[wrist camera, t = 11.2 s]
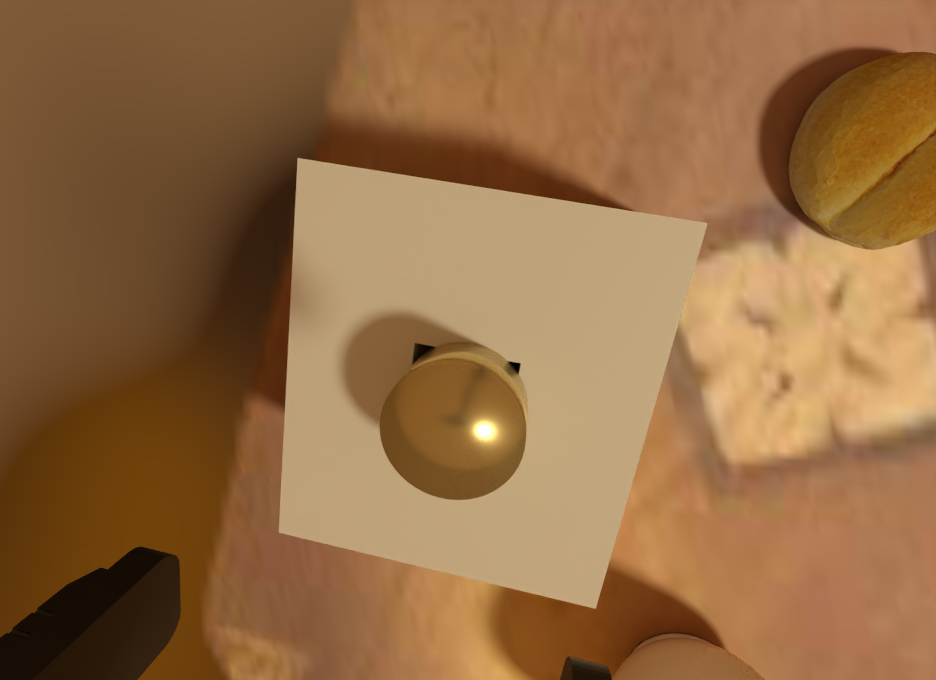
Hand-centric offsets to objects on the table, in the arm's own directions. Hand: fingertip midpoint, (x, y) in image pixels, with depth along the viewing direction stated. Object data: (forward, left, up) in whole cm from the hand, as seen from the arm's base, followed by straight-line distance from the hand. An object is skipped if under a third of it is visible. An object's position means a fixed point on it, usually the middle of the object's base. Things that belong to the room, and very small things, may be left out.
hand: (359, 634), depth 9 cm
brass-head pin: (0, 0, -21) cm, 21 cm away
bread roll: (-14, +19, -22) cm, 32 cm away
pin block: (0, 0, -22) cm, 22 cm away
